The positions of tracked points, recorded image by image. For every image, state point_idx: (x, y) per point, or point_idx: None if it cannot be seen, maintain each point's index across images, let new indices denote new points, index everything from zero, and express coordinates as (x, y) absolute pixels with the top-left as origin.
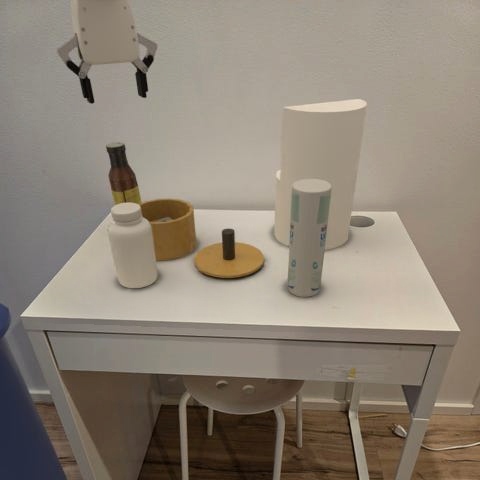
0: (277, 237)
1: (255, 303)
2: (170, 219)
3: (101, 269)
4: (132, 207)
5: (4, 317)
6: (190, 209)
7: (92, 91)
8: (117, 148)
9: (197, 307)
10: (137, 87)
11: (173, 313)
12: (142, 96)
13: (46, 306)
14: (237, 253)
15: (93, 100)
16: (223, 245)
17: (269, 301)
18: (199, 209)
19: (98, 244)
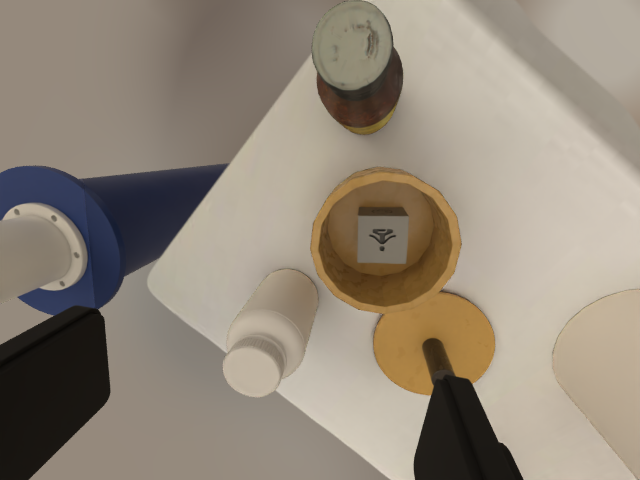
0: (562, 336)
1: (387, 433)
2: (404, 231)
3: (251, 233)
4: (263, 380)
5: (114, 271)
6: (437, 284)
7: (55, 452)
8: (344, 91)
9: (324, 397)
10: (448, 427)
11: (293, 389)
12: (414, 464)
13: (162, 280)
14: (453, 345)
15: (96, 406)
16: (426, 362)
17: (404, 440)
18: (557, 95)
19: (275, 136)
